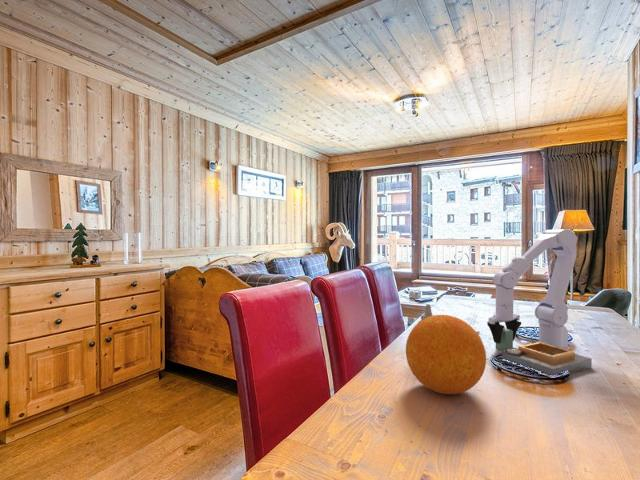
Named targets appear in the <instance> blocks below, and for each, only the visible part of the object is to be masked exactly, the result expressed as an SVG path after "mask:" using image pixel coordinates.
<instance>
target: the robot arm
mask: <svg viewBox="0 0 640 480" xmlns="http://www.w3.org/2000/svg"><path fill="white" fill-rule="evenodd" d="M578 238H579V237H578V236H577V235H576V234H575V232H574V231H573V230H571V229H568V228H564V229H563V228H562V229H547V230H544V231H543V232H542V234H540V235H539V236H538V238H537V240H536V241H535V242H534V243H533V244H532V245H531V246H530V247H529V249H528V250H527V251H525V252H524V254H523V255H522V256H516V257H513V258H512V259H511V262H510V263H508V264H507V266H505V267H503V268H502V271H497V272H496V273H495V274H494V276H493V278H492V282H493V284H494V286H495V314H494V313H493V315H492V316H491V317H488V321H487V322H486V323H487V324H486V325H487V327H488V328H489V330H490V332H491V336H492V339H493V342H494V343H495V344H496V343H500V342H501V334H502V330H503V328H504V327H505V329H509V330H512V331H513V342H514V341H515V338H516V336H517V332H518V330H519V329H520V327H521V326H522V321H520V319H521V318H520V317H521V315H519V314H516V313H514V295H515V293H514V290H515V287H517V285H518V282H519V280H520V278H521V277H522V276H523V275H524V274H526V272H527V271H529V269H530V268H531V263H532V262H533V261H535V260H536V259H537V258H538V257H540V255H541V254H544V252H545V251H547V250H549V249H550V250H551V251H553V252H554V253H555V255H556V257H557V258H556V260H555V263H554V264H555V265H554V267H553V271H552V275H551V277H550V281H549V285H548V289H547V292H546V294H545V296H544V297H542V298H541V299H540V300H539V303H538V305H536V307H535V309H534V316H535V317H536V319H537V321H538V322H537V323H538V342H545V343H548V344H550V345H552V346H555V347H559V348H563V349H566V350H571V347H569V331H568V329H567V327H566V324H567V322H568V319H569V315H568V309H569V307H568V305H567V304H566V303H565V298H566V294H567V290H568V287H569V283H570V280H571V276H572V274H573V271H574V266H575V263H576V259H577V246H576V245H577V242H578ZM501 323H504V324H505V325H502V324H501Z"/></svg>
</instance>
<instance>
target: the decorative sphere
mask: <svg viewBox="0 0 640 480" xmlns="http://www.w3.org/2000/svg"><path fill="white" fill-rule="evenodd" d="M433 315H434V316H430V317H427V318H425V319H423V320H422V321H420V320H419V321H420V322H419V321H418V322H419V323H418V322H417V323H416V324H415V325H414V327H413V328H412V329H411V331H410V332H409V334H408V337H407V339H406V344H405V356H406V357H405V358H406V363H407V365H408V367H409V370H410V371H411V373H412V374H413V376H414V377H415V379H417V381H418V382H419V383H420V384H422V385H423V386H424V387H426V388H427V389H428V390H430V391H433V392H436V393H438V394H442V395H457V394H462V393H464V392H467V391H469V390H471V389H472V388H473V387H475V386H476V385H477V383H479V381H480V380H481V378H482V377H483V374H484V372H485V369H486V366H487V365H486V364H487V354H486V353H487V352H486V349H485V345H484V343H483V339H482V337H481V336H480V334H479V335H478V334H477V332H476V331H475V330H474V329H475V328H474V327H472V325H470V324H469V323H467V322H466V321H465V320H463V319H461V318H459V317H457V316H453V315H448V314H433ZM479 336H480V337H479Z"/></svg>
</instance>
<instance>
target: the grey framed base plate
mask: <svg viewBox="0 0 640 480" xmlns="http://www.w3.org/2000/svg"><path fill="white" fill-rule="evenodd" d="M501 359H505V360H508V361H511V362H514V363H517V364H521V365H523V366H526V367H529V368H533V369H535V370H538V371H541V372H544V373H546V374H549V375H556V374H559V373H561V372H563V371H566V370H568V371H569V373H570V374H569V375H573V374H575V373H579V372H582V371H586V370H587V371H588V370H590V369H592V367H593V366H592V358H591V357H589V356H585V355H584V356H583V355H581V354H576V353H575V351H573V350H571V349H569V350H566V349H563V348H559V347H555V346H552V345H550V344H548V343H545V342H539V341H535V342H533V343H532V342H531V343H528V344H527V343H526V344H524V345H523V344H522V345H518V347H513V348H507V351H502V353H501Z"/></svg>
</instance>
